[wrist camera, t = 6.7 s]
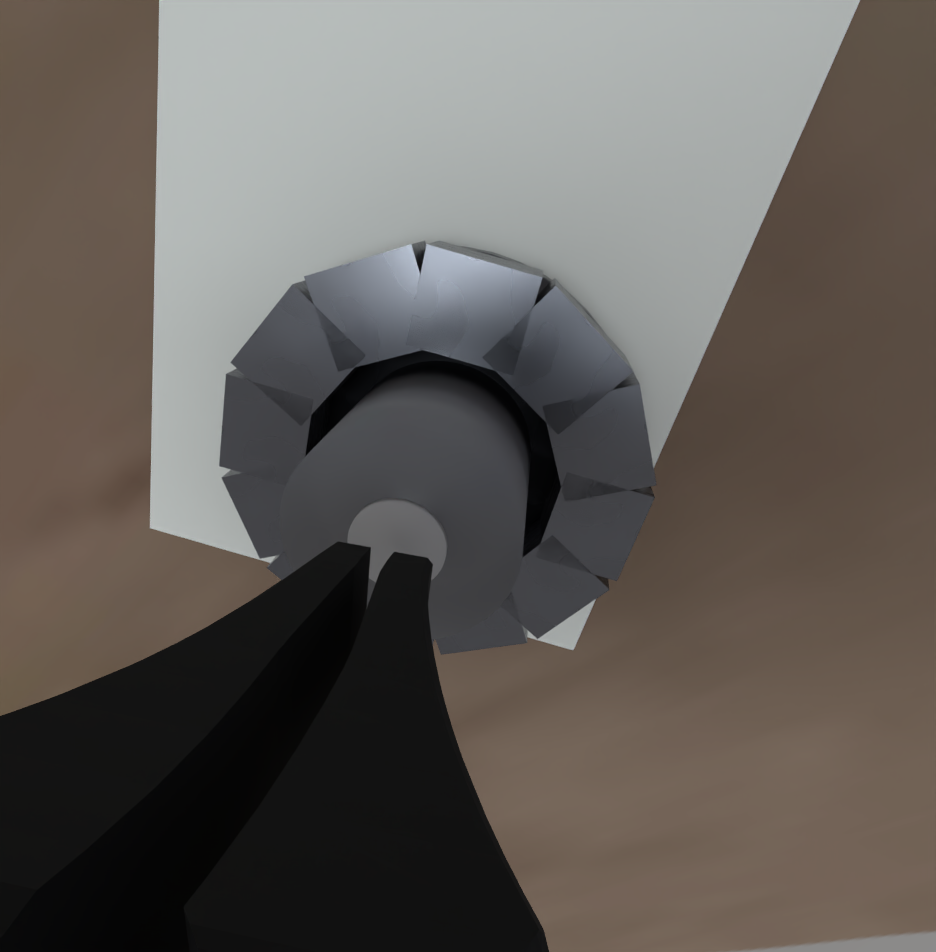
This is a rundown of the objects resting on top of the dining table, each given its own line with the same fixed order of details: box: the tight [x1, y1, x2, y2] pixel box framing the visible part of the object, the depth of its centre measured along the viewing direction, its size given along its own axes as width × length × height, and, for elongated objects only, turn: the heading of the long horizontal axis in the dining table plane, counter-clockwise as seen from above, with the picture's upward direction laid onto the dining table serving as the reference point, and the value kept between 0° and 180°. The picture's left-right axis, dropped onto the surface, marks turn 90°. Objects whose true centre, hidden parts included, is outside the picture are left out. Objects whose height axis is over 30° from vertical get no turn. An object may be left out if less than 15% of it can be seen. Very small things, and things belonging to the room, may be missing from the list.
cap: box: [279, 361, 531, 640], centre depth 14 cm, size 5×5×5 cm
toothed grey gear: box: [219, 241, 656, 654], centre depth 16 cm, size 11×11×3 cm
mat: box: [150, 0, 860, 650], centre depth 15 cm, size 15×24×1 cm, turn 166°
